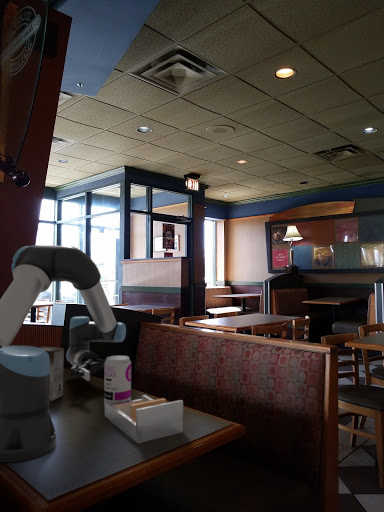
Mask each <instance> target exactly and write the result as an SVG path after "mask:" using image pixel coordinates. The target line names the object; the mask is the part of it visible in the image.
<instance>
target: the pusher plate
mask: <svg viewBox="0 0 384 512" xmlns="http://www.w3.org/2000/svg"><path fill="white" fill-rule="evenodd" d="M163 403H167V399H166V398H164V397H162V398H158V399H153V400H152V401H147V402H142V403H136V404H131V405H130V418H131V419H132V420H134V421H135V422H136V409H139V408H144V407H149V406H154V405H159V404H163Z"/></svg>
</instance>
